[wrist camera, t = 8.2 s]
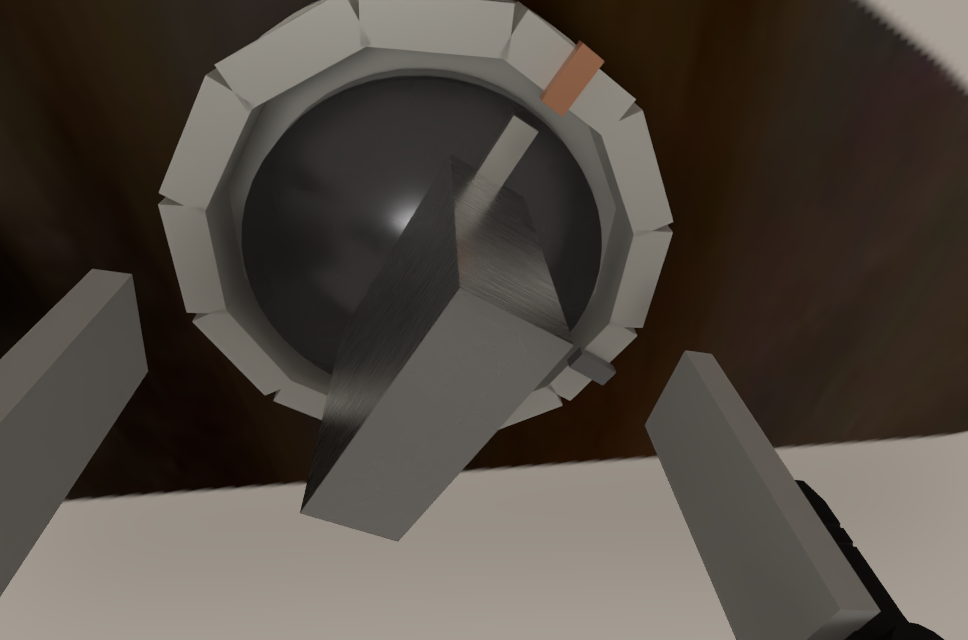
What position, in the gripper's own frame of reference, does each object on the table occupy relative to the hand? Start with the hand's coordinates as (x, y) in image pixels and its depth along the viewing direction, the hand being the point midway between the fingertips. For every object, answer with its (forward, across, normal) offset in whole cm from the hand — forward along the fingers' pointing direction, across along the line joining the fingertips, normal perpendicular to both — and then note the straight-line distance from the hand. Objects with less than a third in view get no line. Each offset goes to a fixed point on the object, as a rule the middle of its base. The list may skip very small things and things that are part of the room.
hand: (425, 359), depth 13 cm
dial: (+6, 0, 0) cm, 6 cm away
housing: (+9, 0, 0) cm, 9 cm away
